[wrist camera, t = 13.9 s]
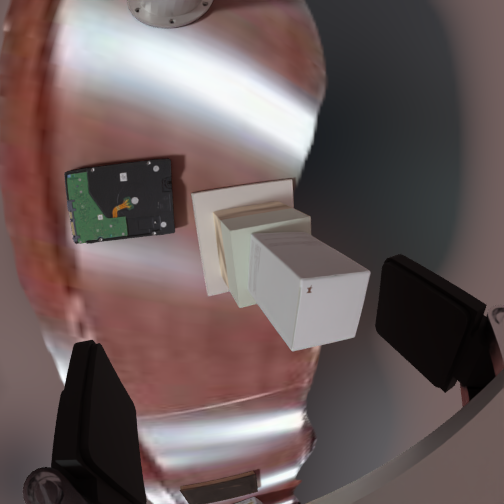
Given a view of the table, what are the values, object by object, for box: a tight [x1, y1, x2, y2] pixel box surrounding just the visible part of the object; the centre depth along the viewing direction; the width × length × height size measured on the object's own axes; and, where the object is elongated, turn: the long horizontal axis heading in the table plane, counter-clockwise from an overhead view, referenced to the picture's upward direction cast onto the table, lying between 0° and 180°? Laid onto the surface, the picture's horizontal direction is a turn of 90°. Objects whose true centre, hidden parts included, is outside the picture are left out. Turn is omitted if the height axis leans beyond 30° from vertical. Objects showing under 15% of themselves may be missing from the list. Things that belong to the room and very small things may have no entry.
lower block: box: [213, 201, 292, 289], centre depth 43 cm, size 10×10×5 cm
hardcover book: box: [180, 471, 258, 504], centre depth 71 cm, size 16×23×2 cm
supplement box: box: [247, 232, 370, 351], centre depth 31 cm, size 7×7×13 cm
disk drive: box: [65, 158, 175, 244], centre depth 38 cm, size 10×3×15 cm
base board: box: [191, 179, 294, 296], centre depth 46 cm, size 16×15×1 cm
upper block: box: [220, 208, 311, 308], centre depth 39 cm, size 10×10×5 cm
